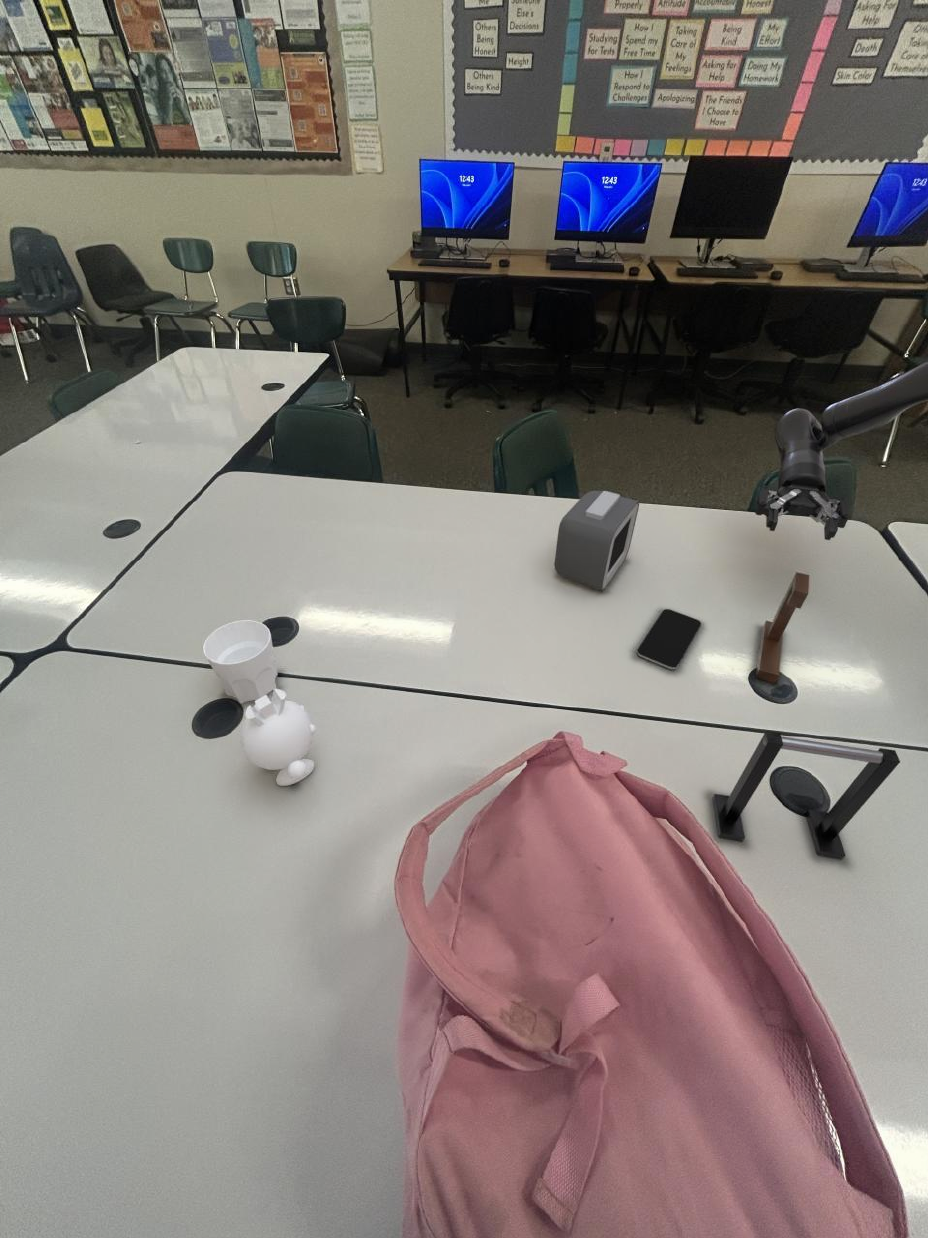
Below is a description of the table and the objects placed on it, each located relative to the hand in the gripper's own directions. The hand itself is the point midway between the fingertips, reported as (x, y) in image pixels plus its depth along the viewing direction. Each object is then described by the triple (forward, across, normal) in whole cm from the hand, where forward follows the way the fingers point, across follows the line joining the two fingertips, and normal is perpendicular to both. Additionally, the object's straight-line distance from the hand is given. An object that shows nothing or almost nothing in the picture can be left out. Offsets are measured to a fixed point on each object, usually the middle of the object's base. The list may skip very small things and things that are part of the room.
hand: (801, 531), depth 95 cm
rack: (+48, +1, +12) cm, 50 cm away
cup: (+53, -80, +10) cm, 96 cm away
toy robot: (+64, -64, +8) cm, 91 cm away
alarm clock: (-1, -35, +18) cm, 39 cm away
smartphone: (+16, -16, +16) cm, 28 cm away
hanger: (+13, 0, +17) cm, 21 cm away
